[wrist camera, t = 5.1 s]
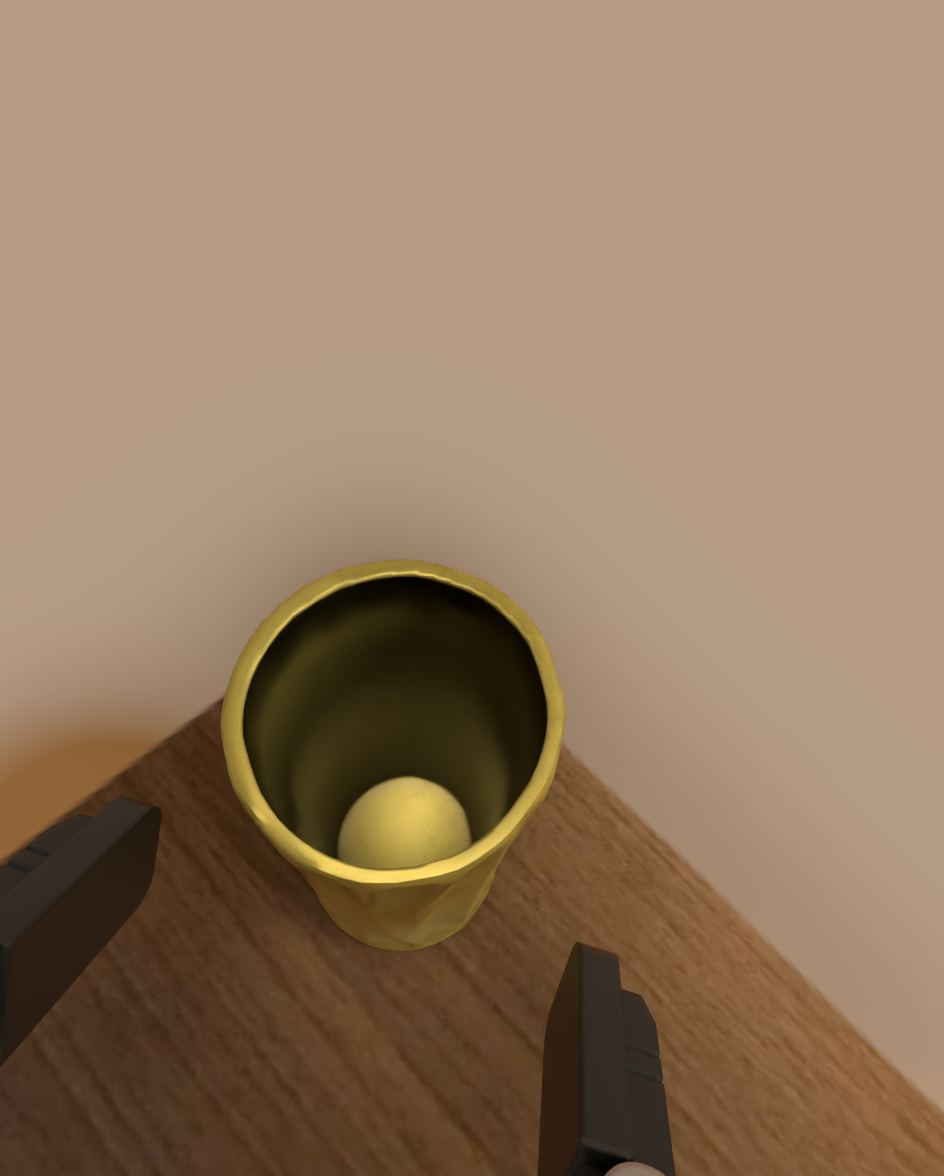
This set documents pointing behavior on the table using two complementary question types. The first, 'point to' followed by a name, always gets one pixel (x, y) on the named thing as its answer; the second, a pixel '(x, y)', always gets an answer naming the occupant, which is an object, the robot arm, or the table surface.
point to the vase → (394, 742)
